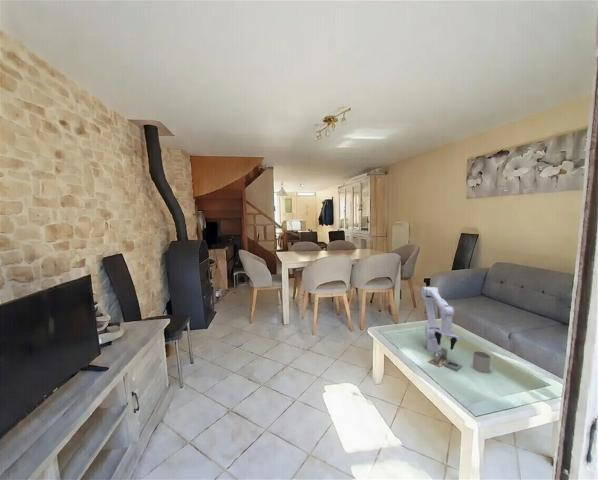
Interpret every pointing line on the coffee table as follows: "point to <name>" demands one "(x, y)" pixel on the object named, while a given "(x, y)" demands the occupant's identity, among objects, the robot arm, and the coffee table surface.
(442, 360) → the tray
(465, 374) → the coffee table surface
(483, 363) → the cup
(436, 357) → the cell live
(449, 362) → the cradle
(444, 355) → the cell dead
